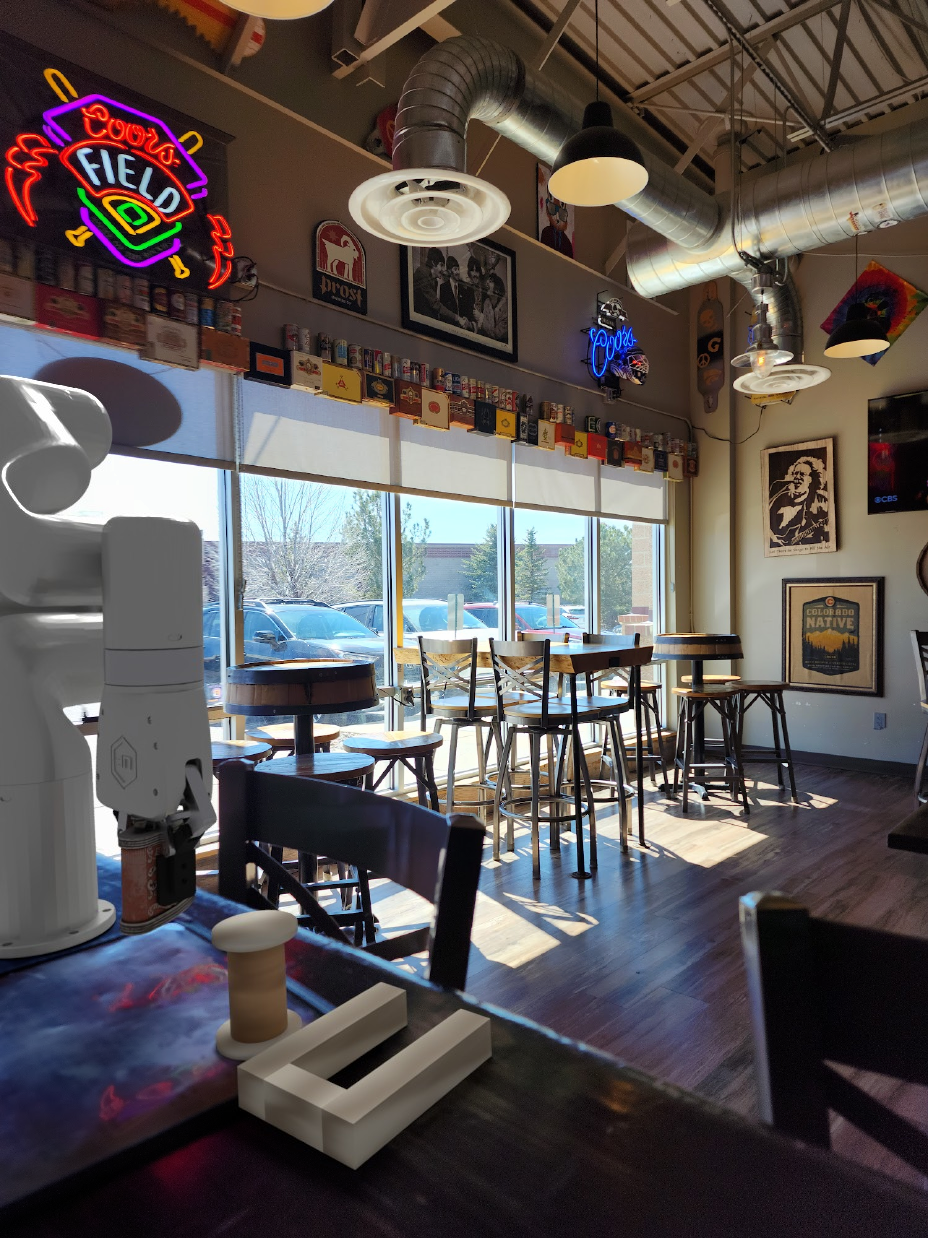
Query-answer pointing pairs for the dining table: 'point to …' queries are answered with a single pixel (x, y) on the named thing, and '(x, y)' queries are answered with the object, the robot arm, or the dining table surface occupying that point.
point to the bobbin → (255, 982)
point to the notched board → (380, 1102)
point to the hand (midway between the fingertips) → (158, 891)
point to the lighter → (143, 879)
